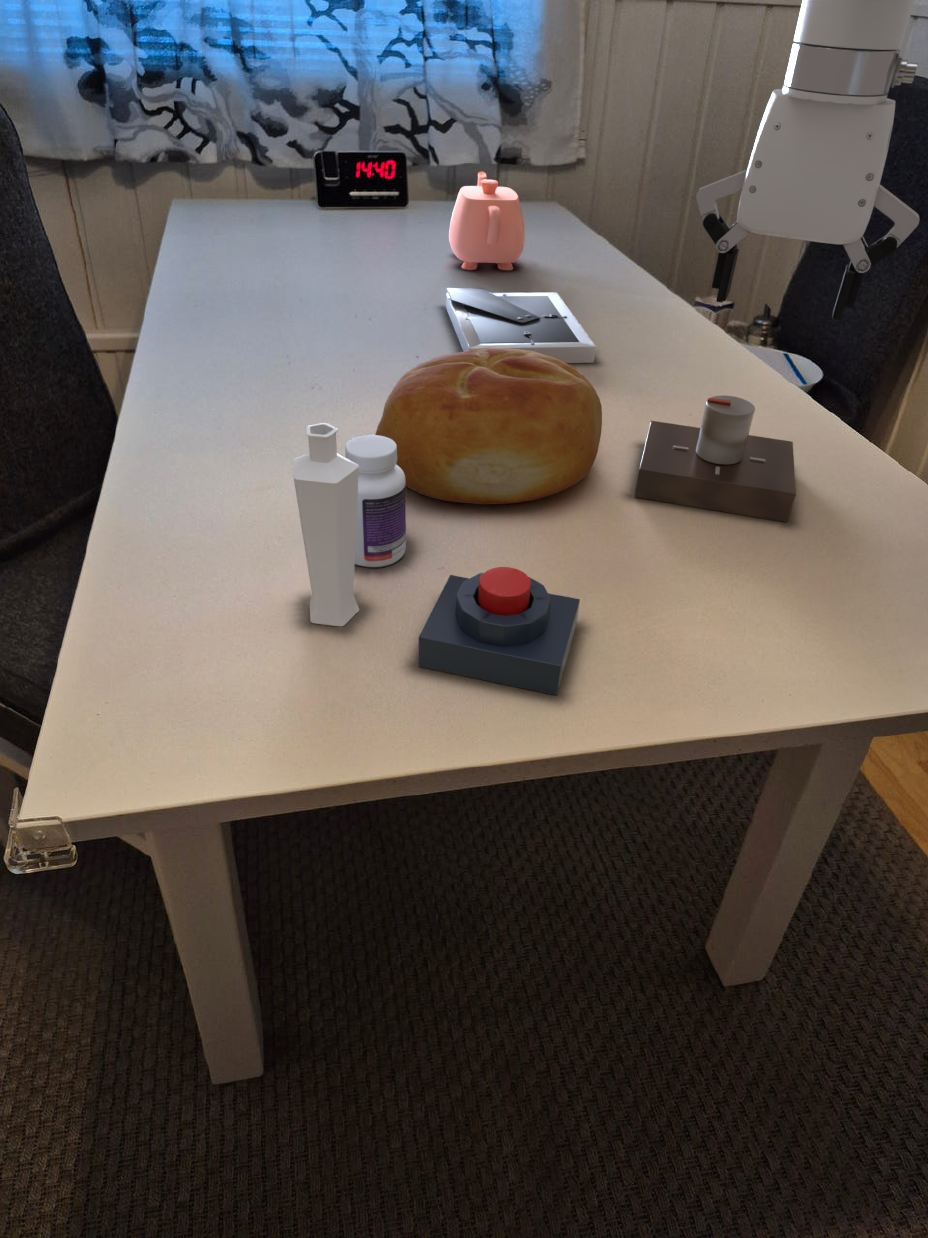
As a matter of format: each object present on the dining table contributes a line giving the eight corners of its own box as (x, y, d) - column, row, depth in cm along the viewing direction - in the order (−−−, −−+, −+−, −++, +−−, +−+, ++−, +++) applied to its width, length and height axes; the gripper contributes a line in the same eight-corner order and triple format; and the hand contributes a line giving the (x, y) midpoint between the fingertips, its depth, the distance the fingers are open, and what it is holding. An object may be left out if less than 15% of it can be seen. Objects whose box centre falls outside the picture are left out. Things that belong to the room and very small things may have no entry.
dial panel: (784, 468, 89) (793, 439, 87) (787, 522, 80) (796, 492, 78) (646, 446, 91) (651, 418, 89) (634, 497, 83) (639, 467, 81)
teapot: (530, 280, 135) (538, 195, 128) (454, 279, 134) (457, 193, 126) (511, 244, 151) (516, 166, 143) (442, 243, 149) (444, 165, 142)
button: (533, 591, 63) (535, 571, 62) (523, 621, 60) (525, 600, 59) (484, 582, 64) (486, 562, 63) (472, 611, 61) (473, 590, 60)
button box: (575, 627, 67) (583, 578, 64) (556, 695, 60) (564, 645, 58) (449, 602, 68) (450, 554, 66) (418, 666, 62) (418, 616, 60)
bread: (339, 428, 92) (334, 334, 86) (538, 399, 100) (547, 311, 94) (417, 540, 75) (418, 432, 69) (648, 494, 83) (667, 394, 77)
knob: (742, 447, 85) (756, 395, 82) (742, 468, 82) (755, 414, 79) (696, 440, 86) (708, 389, 83) (694, 460, 83) (705, 407, 79)
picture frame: (446, 308, 123) (468, 365, 107) (446, 287, 121) (469, 342, 105) (555, 307, 125) (593, 362, 109) (557, 286, 124) (596, 340, 107)
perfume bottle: (314, 637, 64) (299, 451, 55) (295, 604, 67) (277, 423, 58) (372, 621, 66) (367, 438, 57) (351, 590, 69) (342, 412, 60)
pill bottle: (415, 541, 75) (416, 437, 69) (391, 575, 71) (389, 467, 65) (357, 528, 76) (353, 425, 71) (330, 560, 72) (323, 453, 66)
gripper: (961, 80, 66) (885, 310, 76) (728, 60, 70) (686, 279, 81) (967, 91, 60) (884, 337, 71) (713, 69, 65) (670, 303, 75)
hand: (778, 306), depth 76 cm, fingers open, 9 cm apart
